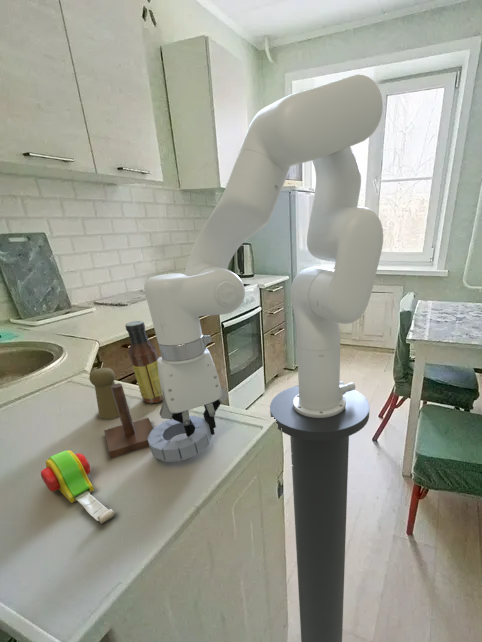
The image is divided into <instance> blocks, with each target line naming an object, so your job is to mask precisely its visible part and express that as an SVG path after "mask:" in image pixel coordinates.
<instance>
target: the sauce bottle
mask: <svg viewBox="0 0 482 642" xmlns="http://www.w3.org/2000/svg"><path fill="white" fill-rule="evenodd" d="M124 326H125V330H126V331H127V334H128V338H129V342H130V346H129V349H128V355H129V359H130V361H131V366H132V369H133V373H134V376H135V379H136V383H137V386H138V389H139V392H140V396H141V397H142V400H143V402H145V403H146V404H158V403H160V402H161V403H162V402H163V400H164V399H163V395H162V391H161V386H160V381H159V374H158V358H159V356H158V353H157V349H156V346H155V345H154V344H153V343H151V341H150V339H148V338H149V337H148V336H147V332H146V325H145V322H144V320H133V321H130V322H126V324H125V325H124Z"/></svg>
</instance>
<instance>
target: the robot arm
mask: <svg viewBox="0 0 482 642" xmlns="http://www.w3.org/2000/svg"><path fill="white" fill-rule="evenodd" d="M383 106H384V105H383V97H382V94H381V91H380V88H379V86H378V85H377V83H376V82H375V80H373V79H372V78H370V77H369V76H367V75H364V74H352V75H350V76H347V77H343V78H341V79H337V80H334V81H331V82H328V83H325V84H321V85H319V86H315V87H311V88H307V89H305V90H301V91H297V92H293V93H291V94H289V95H287V96H284V97H282V98H281V99H278V100H277V101H274V102H273V103H271V104H269V105H267V106H265V107H264V108H262V109H261V110H259V111H258V112H257V113H256V114H255V115H254V117H253V118H252V120H251V122H250V124H249V126H248V128H247V131H246V133H245V136H244V138H243V141H242V143H241V146H240V149H239V151H238V153H237V157H236V159H235V162H234V164H233V167H232V170H231V173H230V176H229V178H228V180H227V183H226V186H225V188H224V191H223V193H222V195H221V197H220V199H219V200H218V203H217V204H216V205H215V207H214V209H213V210H212V212H211V213H210V216H209V217H208V218H207V221H206V222H205V224H204V225H203V227H202V228H201V230H200V232H199V234H198V236H197V237H196V239H195V241H194V244H193V246H192V248H191V252H190V254H189V257H188V260H187V262H186V265H185V268H184V271H183V273H177V272H176V273H175V272H174V273H164V274H159V275H154V276H151V277H149V278H148V279H146V280H145V282H144V286H143V288H144V294H145V298H146V302H147V305H148V309H149V313H150V317H151V321H152V325H153V330H154V332H155V337H156V340H157V345H158V349H159V352H160V356H159V357H158V374H159V381H160V386H161V391H162V395H163V399H164V400H163V401H162V402H161V403H162V404H161V407H160V410H159V416H160V418H161V419H164V420H170V419H174V420H176V421H178V422H180V423H183V424H184V428H185V432H186V434H185V435H186V438H188V437H189V436H190V435H192V434H193V433H194V431H195V429H194V425H193V423H192V421H191V420H190V418H189V416H190V411H191V410H192V409H197V408H199V407H202V406H203V408H204V411H203V414H202V415H203V418H204V419H205V420H206V422H207V423H208V424H209V427H210V432H211V436H214V435H216V431H215V429H216V428H217V425H216V424H217V423H216V420H215V416H216V412H217V410H218V409H219V407H220V406H221V404H222V403H224V401H226V399H228V398H229V393H228V392H227V391H226V390H225V389H224V388H223V386H222V385H221V383H220V379H219V375H218V371H217V368H216V365H215V362H214V360H213V357H212V354H211V352H210V350H209V349H208V347H207V345H208V344H210V343H212V342H213V341H212V336H211V335H210V334H208V335H205V334H203V332H202V326H201V325H202V324H201V320H200V317H206V316H207V317H208V316H221V315H228V314H231V313H233V312H234V311H236V310H237V309H238V308H239V307H240V306H241V305H242V304H243V302H244V300H245V296H246V289H245V285H244V282H243V280H242V279H241V278H240V277H239V275H237V274H236V273H234V272H233V271H231V270H229V269H228V267H229V265H230V263H231V261H232V259H233V257H234V255H235V254H236V253H237V251H238V250H239V248H240V247H241V246H242V245H243V244H244V243H245V242H246V241H248V239H250V238H252V237H253V236H254V235H256V234H258V232H260V231H261V230H262V229H263V228H264V227H265V226H267V224H268V223H269V222H270V220H271V218H272V216H273V212H274V211H275V207H276V205H277V203H278V200H279V197H280V195H281V193H282V190H283V188H284V186H285V183H286V180H287V178H288V176H289V173H290V171H291V169H292V167H293V166H296V165H300V164H304V163H307V162H312V163H313V166H314V171H315V187H314V195H313V199H312V200H313V201H312V207H311V211H310V217H309V223H308V228H307V235H306V247H307V250H308V252H309V253H310V255H312V257H314V258H315V259H318V260H321V261H327V262H333V263H334V267H333V268H329V267H323V266H322V267H321V266H309V267H306V268H304V269H302V270H301V271H299V272H298V273H297V274H296V275H295V277H294V278H293V280H292V283H291V286H290V301H291V306H292V309H293V314H294V320H295V329H296V353H297V372H298V373H297V376H298V377H297V380H298V381H297V382H298V385H299V394H298V395H297V396H295V398H294V399H293V408H294V409H295V410H296V411H297V412H298V413H300V414H301V415H304V416H307V417H313V418H326V417H331V416H334V415H337V414H339V413H340V412H342V411H343V410H344V409H345V407H346V400H345V398H344V397H343V395H344V394H345V393H346V392H349V391H352V390H356V384H355V383H354V382H352V381H351V382H348V383H346V384H345V382H344V381H343V380H341V379H340V377H341V375H340V374H341V329H340V324H343V325H348V324H353V323H355V322H356V321H358V320H359V319H360V318H361V317H362V316H363V314H364V313H365V311H366V310H367V307H368V305H369V302H370V299H371V296H372V293H373V292H372V291H373V288H374V283H375V280H376V276H377V271H378V268H379V264H380V259H381V255H382V250H383V245H384V230H383V224H382V221H381V219H380V217H379V215H378V214H377V213H376V212H375V211H373V210H372V209H370V208H368V207H363V206H358V205H359V200H360V192H361V188H362V187H361V185H362V172H361V169H360V165H359V162H358V160H357V158H356V155H355V154H354V151H353V149H352V147H353V146H355V145H358V144H360V143H363V142H365V141H366V140H368V139H370V137H372V136H373V134H374V133H375V132H376V130H377V129H378V127H379V124H380V122H381V119H382V115H383V108H384V107H383ZM189 410H190V411H189Z"/></svg>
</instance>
